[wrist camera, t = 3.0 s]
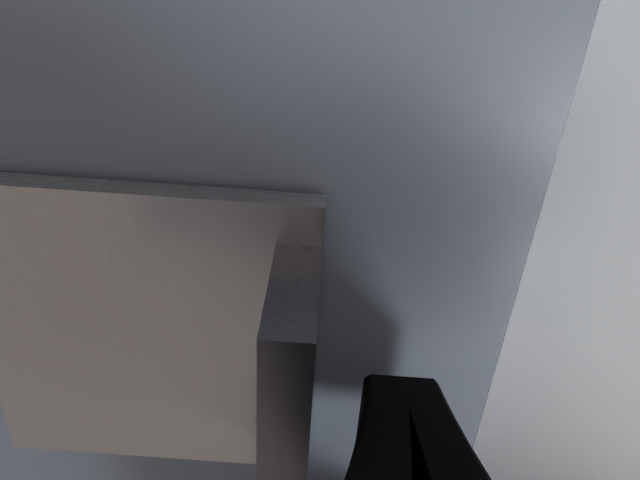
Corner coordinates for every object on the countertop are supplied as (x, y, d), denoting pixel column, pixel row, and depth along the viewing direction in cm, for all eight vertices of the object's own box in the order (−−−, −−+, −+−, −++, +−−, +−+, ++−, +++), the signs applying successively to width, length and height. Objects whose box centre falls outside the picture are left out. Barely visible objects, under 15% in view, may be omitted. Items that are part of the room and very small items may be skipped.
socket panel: (418, 543, 19) (426, 610, 17) (-79, 509, 19) (-122, 571, 17) (563, -44, 10) (609, -33, 8) (-371, -108, 10) (-522, -109, 8)
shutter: (308, 449, 13) (299, 582, 11) (25, 429, 13) (-52, 558, 11) (326, 193, 10) (319, 299, 7) (-52, 168, 10) (-191, 263, 7)
